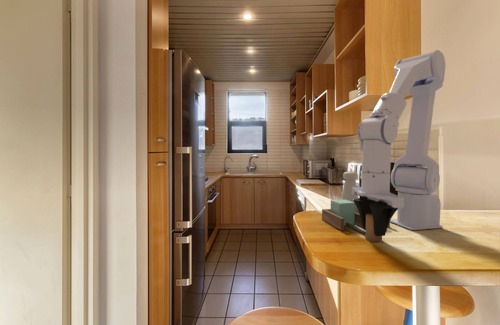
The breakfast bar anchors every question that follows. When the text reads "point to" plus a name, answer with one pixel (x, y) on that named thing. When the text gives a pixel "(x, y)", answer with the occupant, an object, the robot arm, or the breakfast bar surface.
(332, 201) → the tethered block
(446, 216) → the breakfast bar surface
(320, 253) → the breakfast bar surface
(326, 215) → the walnut rack
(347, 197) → the salt shaker
